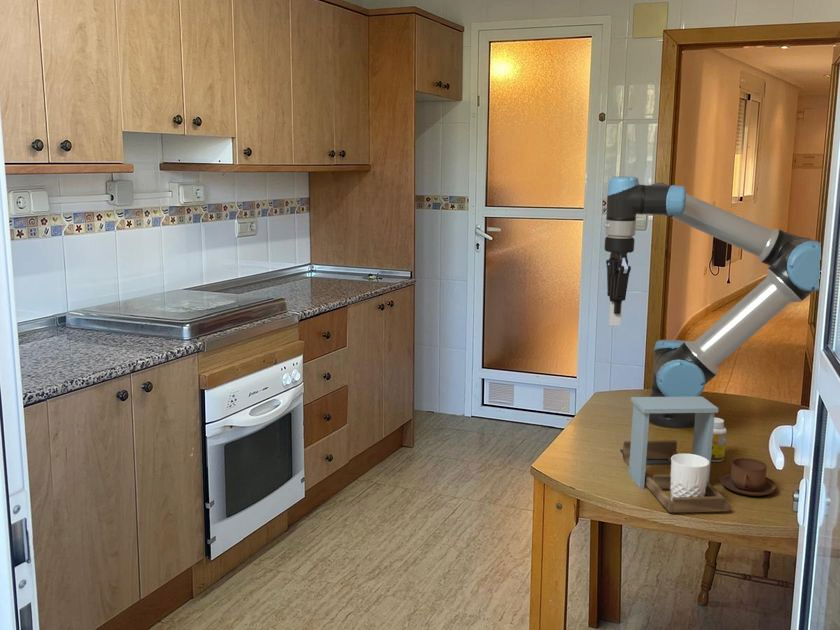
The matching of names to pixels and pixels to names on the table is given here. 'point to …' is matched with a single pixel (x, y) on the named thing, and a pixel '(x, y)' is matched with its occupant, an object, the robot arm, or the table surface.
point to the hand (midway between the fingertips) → (614, 324)
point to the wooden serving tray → (664, 481)
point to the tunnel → (669, 405)
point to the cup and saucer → (748, 478)
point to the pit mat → (656, 461)
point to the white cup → (688, 475)
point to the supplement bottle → (718, 440)
